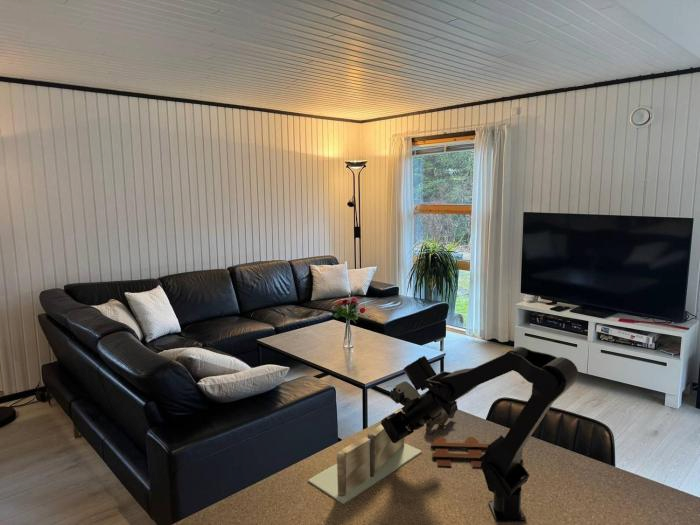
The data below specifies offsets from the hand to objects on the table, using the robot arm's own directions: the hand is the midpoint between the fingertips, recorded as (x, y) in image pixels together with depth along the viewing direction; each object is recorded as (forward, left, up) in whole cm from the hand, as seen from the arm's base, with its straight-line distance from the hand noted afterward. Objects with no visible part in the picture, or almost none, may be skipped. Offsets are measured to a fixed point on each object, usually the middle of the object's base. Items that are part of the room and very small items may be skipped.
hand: (394, 431), depth 128 cm
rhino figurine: (+16, -15, -8) cm, 23 cm away
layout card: (-4, +8, -7) cm, 11 cm away
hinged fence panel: (-1, +2, -7) cm, 7 cm away
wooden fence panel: (-12, +10, -7) cm, 18 cm away
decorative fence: (+1, -22, -8) cm, 23 cm away
